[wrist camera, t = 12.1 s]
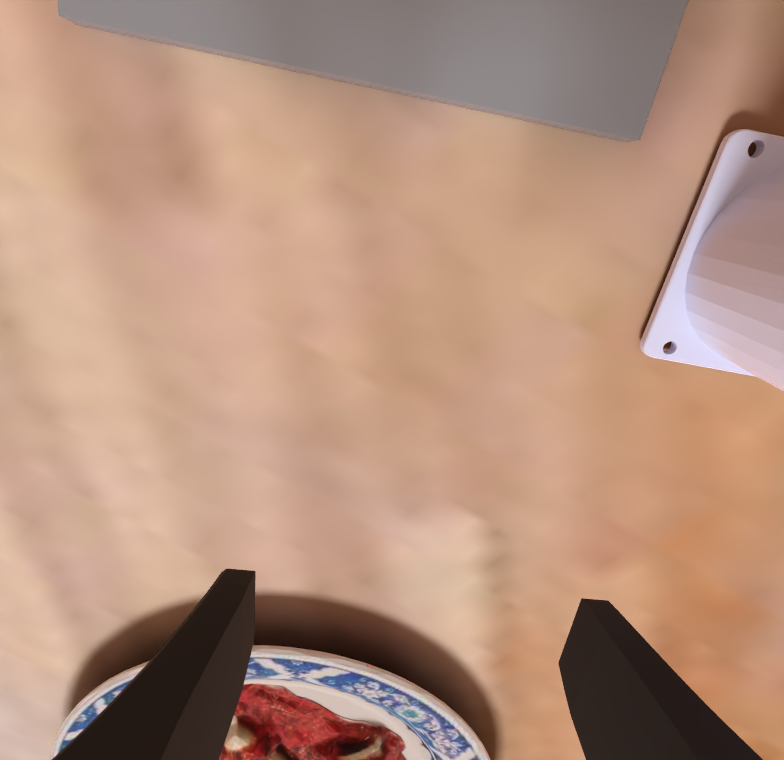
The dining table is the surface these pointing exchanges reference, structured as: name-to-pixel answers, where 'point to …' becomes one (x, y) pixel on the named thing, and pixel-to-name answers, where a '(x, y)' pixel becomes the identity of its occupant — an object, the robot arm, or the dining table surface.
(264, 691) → the ceramic plate
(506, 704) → the dining table surface
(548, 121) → the socket base
